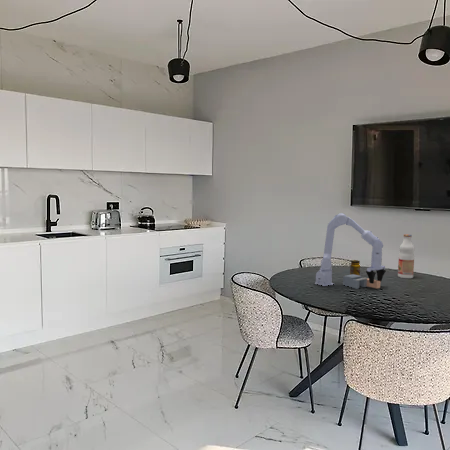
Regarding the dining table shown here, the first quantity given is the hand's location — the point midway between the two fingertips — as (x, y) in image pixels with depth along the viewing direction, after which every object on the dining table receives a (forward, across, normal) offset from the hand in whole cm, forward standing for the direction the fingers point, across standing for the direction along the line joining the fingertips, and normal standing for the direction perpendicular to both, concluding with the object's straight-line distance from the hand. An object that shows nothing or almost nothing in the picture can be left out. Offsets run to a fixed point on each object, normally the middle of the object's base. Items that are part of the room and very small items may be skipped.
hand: (375, 282), depth 263 cm
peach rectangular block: (+3, 0, +2) cm, 4 cm away
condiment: (+3, +7, +22) cm, 23 cm away
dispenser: (+3, -8, +8) cm, 12 cm away
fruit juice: (+3, +41, +6) cm, 42 cm away
